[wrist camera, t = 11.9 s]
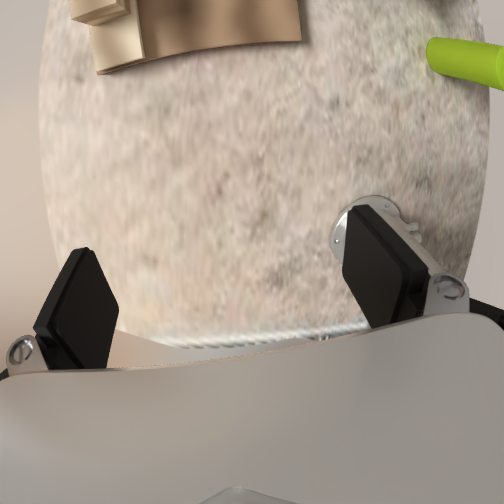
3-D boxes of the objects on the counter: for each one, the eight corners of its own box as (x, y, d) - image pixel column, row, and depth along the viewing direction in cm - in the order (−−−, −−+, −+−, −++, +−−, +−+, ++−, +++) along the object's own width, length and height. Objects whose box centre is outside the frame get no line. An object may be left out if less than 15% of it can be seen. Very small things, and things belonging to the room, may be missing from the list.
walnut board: (284, -44, 20) (289, -49, 18) (296, 41, 27) (301, 40, 26) (90, -13, 18) (85, -16, 17) (102, 74, 26) (97, 75, 24)
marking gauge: (135, -46, 17) (116, -77, 9) (147, 58, 25) (129, 54, 18) (92, -32, 16) (62, -56, 9) (105, 70, 25) (73, 74, 18)
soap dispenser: (415, 47, 28) (537, 70, 12) (443, 32, 26) (557, 53, 10) (431, 82, 31) (545, 123, 15) (457, 66, 30) (564, 100, 14)
